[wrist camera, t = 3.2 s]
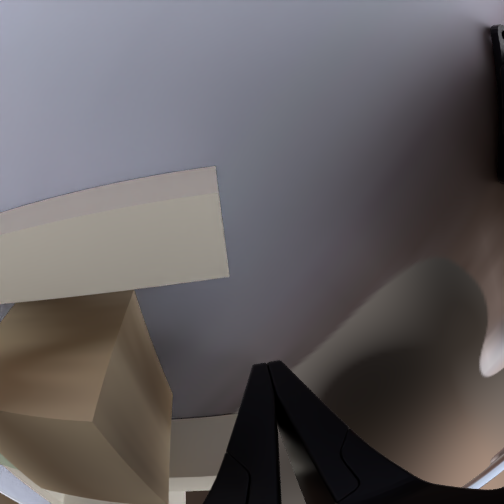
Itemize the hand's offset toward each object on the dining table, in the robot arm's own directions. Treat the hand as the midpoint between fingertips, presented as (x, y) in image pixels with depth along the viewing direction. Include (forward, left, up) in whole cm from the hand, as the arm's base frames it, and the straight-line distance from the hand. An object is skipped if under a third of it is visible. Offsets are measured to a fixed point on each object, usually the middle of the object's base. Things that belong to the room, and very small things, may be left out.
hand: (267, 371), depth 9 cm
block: (+6, 0, -2) cm, 6 cm away
